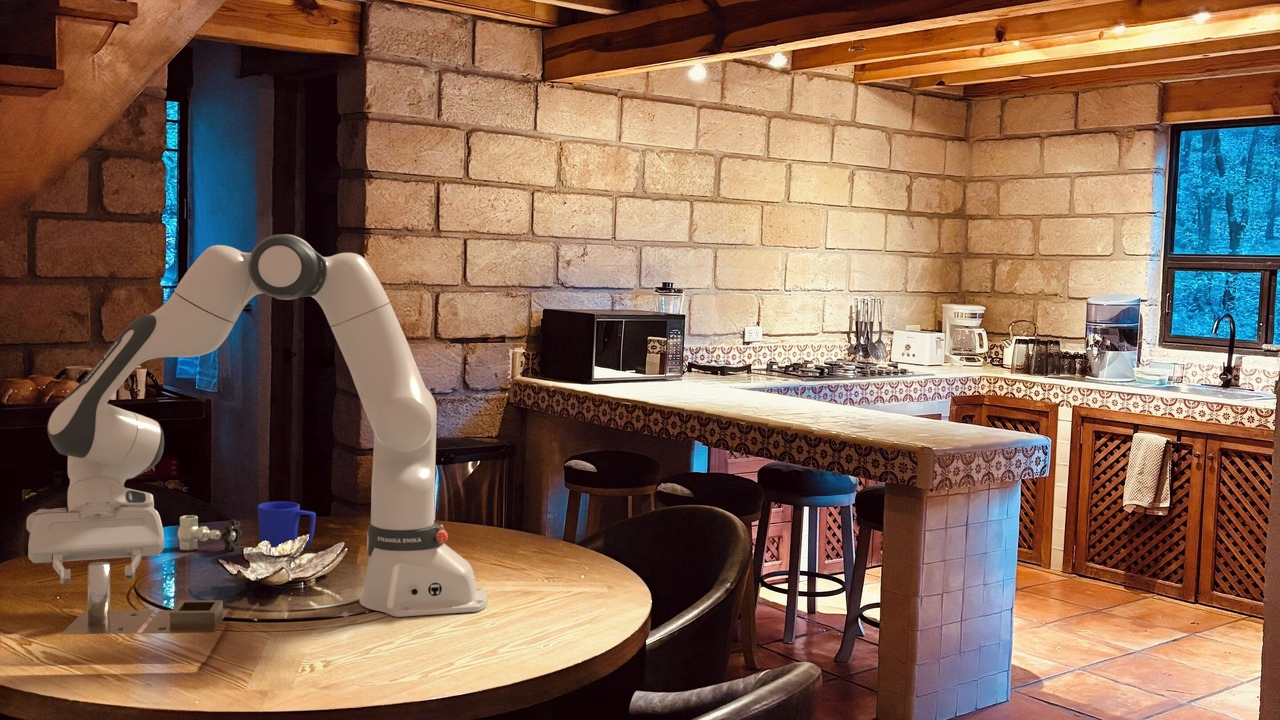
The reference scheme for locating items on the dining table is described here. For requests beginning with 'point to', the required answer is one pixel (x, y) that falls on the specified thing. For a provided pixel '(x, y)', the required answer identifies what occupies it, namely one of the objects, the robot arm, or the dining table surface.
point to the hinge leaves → (157, 620)
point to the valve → (206, 533)
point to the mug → (282, 522)
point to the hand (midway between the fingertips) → (98, 579)
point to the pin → (98, 593)
